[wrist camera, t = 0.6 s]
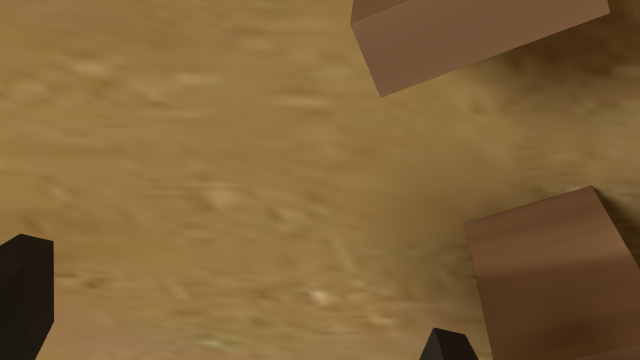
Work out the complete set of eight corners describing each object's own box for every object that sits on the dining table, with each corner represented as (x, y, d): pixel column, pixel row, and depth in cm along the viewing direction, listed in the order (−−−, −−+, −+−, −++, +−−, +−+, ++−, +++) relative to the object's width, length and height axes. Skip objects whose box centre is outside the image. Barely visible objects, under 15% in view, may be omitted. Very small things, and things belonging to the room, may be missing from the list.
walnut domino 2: (600, 222, 21) (687, 379, 15) (477, 256, 23) (513, 415, 17) (591, 185, 21) (678, 335, 15) (464, 223, 22) (496, 376, 16)
